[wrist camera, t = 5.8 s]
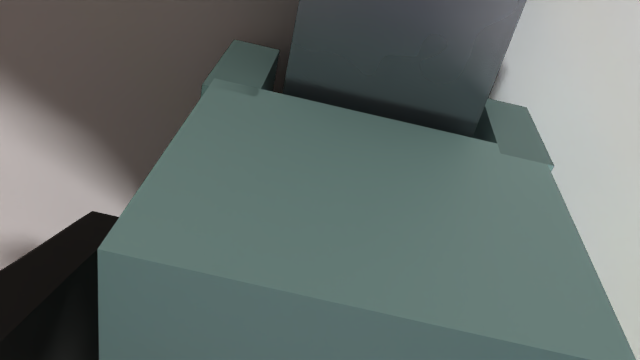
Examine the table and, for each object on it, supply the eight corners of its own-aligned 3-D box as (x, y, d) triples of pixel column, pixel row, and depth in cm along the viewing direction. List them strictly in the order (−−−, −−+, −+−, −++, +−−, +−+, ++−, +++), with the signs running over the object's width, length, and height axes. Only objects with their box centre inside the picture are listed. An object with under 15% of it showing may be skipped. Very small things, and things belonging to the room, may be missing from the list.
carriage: (526, 107, 10) (651, 373, 5) (424, 338, 13) (443, 635, 8) (234, 39, 10) (85, 246, 5) (202, 289, 13) (95, 560, 8)
